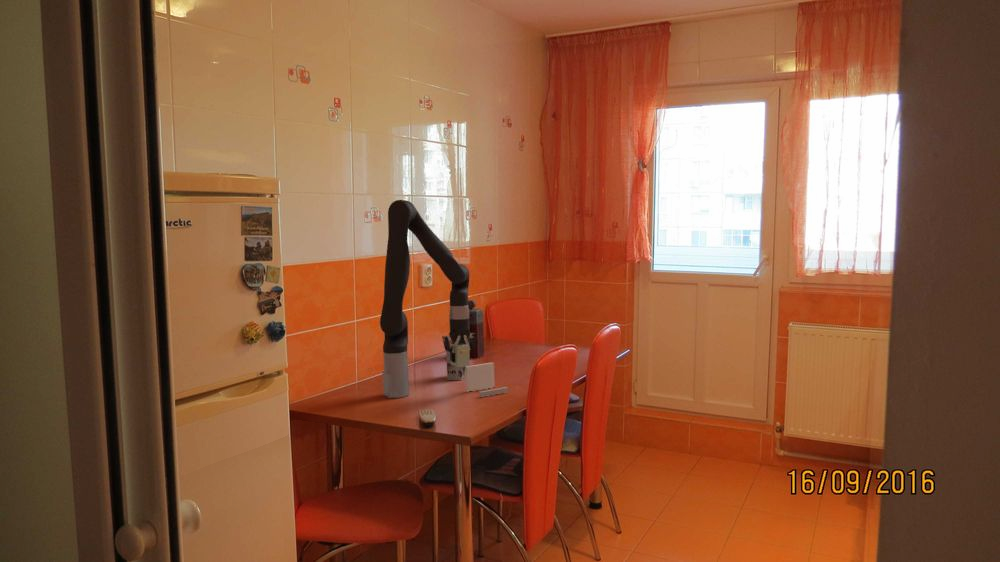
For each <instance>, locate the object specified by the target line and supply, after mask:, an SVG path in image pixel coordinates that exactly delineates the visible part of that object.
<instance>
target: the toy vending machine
mask: <svg viewBox="0 0 1000 562" xmlns="http://www.w3.org/2000/svg"><path fill="white" fill-rule="evenodd" d="M476 306H477V303H476V301H475V300H474V299H468V307H469V331H470V333H475V334H477V337H476V342H475V348H474V349H471V350H470V358H479V359H481V358H483V357H484V356H485V335H484V334H485V333H484V329H485V328H484V310H483V308H482V307H481V308H479V307H478V308H477V307H476ZM467 340H468V342H469V343H470V336H469V338H468V339H467ZM483 355H484V356H483ZM482 356H483V357H482ZM480 357H481V358H480Z"/></svg>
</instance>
